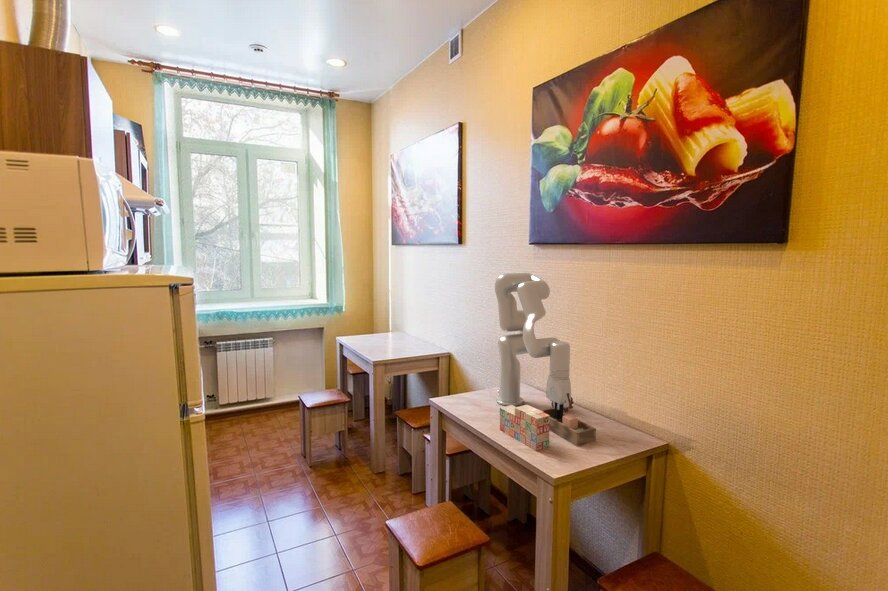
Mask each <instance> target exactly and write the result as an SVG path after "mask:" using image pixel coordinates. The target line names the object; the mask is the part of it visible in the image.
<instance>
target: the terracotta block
mask: <svg viewBox="0 0 888 591" xmlns="http://www.w3.org/2000/svg"><path fill="white" fill-rule="evenodd" d="M578 420H579V418H578V416H577V417H576V416H575V415H572V414H571V413H570V414H568V415H565V416H563V417H562V424H564V425H566V426H568V427H570V428H572V429H576V428H578Z"/></svg>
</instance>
